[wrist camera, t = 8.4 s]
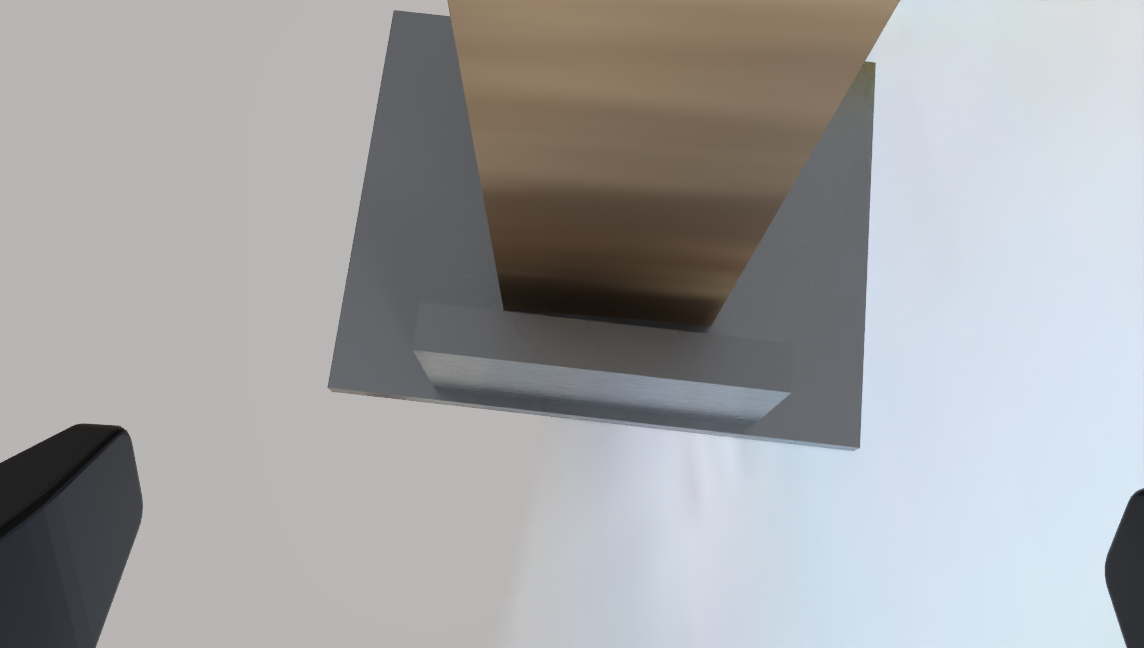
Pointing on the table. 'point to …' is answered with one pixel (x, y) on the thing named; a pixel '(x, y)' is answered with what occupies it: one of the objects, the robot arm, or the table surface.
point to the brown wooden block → (646, 139)
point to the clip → (592, 343)
